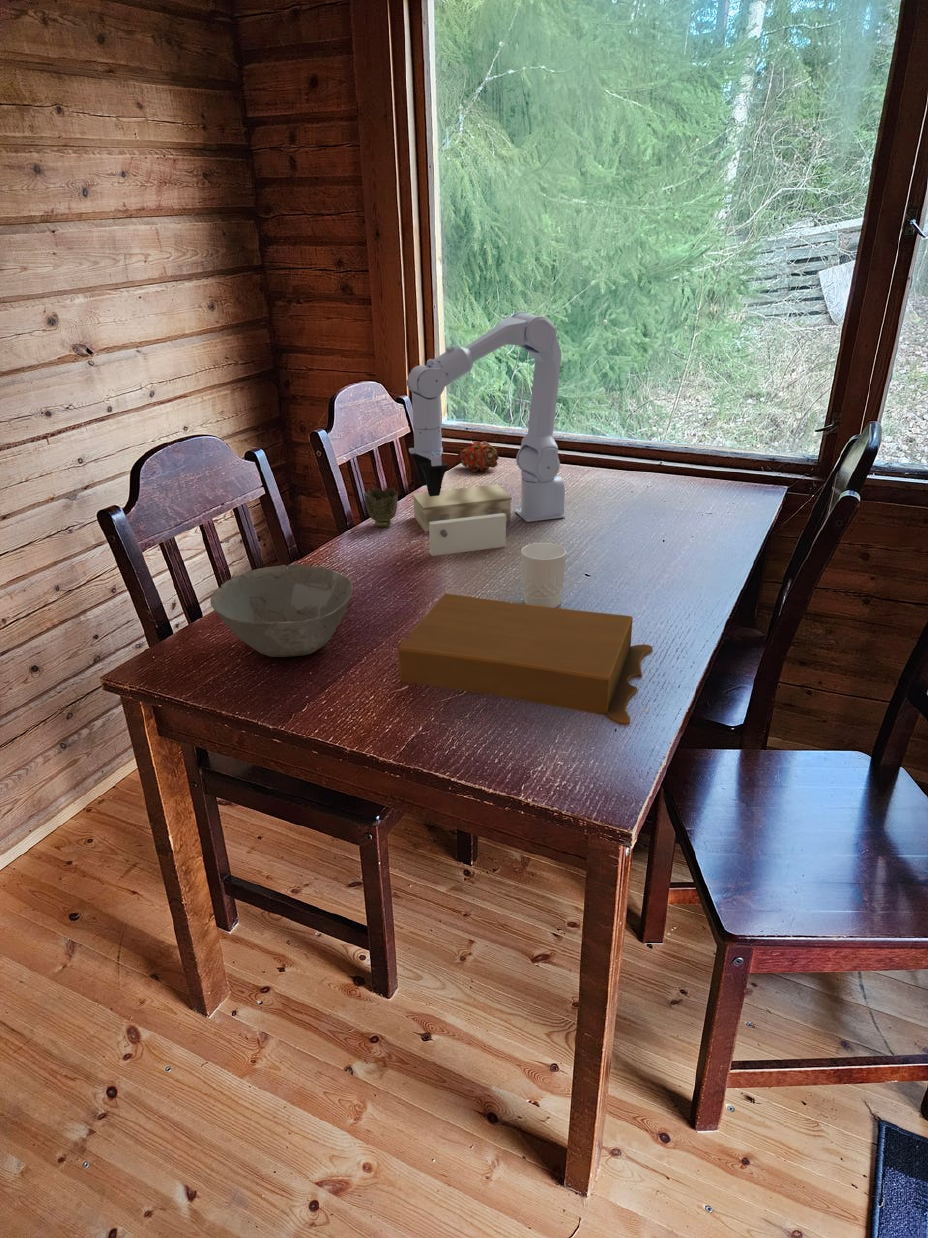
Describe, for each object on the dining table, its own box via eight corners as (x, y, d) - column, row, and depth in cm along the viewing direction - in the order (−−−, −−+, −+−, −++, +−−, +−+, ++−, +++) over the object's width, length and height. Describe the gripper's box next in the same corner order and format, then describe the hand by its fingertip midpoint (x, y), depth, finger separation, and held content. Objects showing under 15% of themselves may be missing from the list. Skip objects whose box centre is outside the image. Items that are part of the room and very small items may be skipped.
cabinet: (497, 507, 198) (497, 484, 195) (518, 527, 185) (518, 503, 183) (413, 516, 193) (412, 493, 190) (429, 538, 180) (428, 514, 178)
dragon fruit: (499, 479, 223) (461, 480, 228) (508, 454, 226) (470, 456, 232) (487, 459, 216) (448, 460, 222) (496, 433, 219) (457, 435, 225)
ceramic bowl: (296, 695, 124) (289, 636, 119) (190, 657, 135) (179, 601, 131) (386, 635, 141) (382, 581, 136) (284, 605, 152) (278, 554, 147)
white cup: (568, 595, 153) (570, 545, 149) (558, 614, 146) (560, 561, 142) (526, 590, 155) (527, 540, 151) (515, 608, 149) (515, 556, 144)
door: (503, 544, 177) (503, 512, 174) (507, 549, 175) (507, 517, 171) (430, 553, 173) (428, 521, 170) (433, 558, 171) (432, 526, 168)
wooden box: (448, 589, 143) (655, 614, 132) (449, 623, 146) (652, 650, 135) (393, 652, 123) (631, 688, 112) (396, 690, 126) (628, 728, 115)
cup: (402, 520, 191) (400, 486, 187) (396, 532, 184) (394, 497, 181) (370, 520, 192) (367, 486, 188) (363, 531, 185) (360, 496, 182)
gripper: (400, 420, 177) (404, 482, 183) (416, 436, 165) (419, 502, 171) (433, 417, 179) (435, 478, 185) (450, 433, 166) (452, 498, 172)
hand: (430, 490), depth 178 cm, fingers open, 7 cm apart
